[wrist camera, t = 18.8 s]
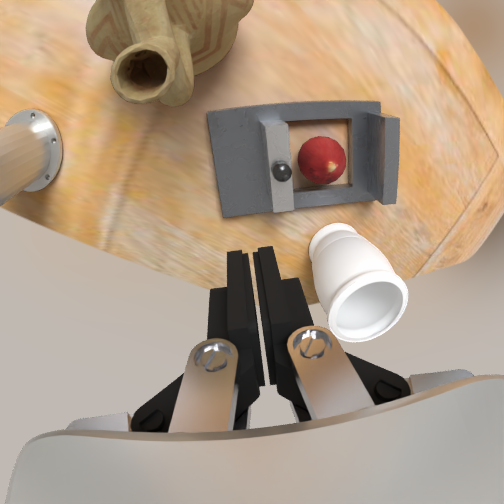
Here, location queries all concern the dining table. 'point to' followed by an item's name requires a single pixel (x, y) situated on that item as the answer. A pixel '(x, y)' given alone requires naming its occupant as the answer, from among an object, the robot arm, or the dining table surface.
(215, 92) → the dining table surface
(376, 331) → the jar
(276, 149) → the door
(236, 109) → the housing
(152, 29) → the ceramic vessel
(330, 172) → the onion
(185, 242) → the dining table surface
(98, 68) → the dining table surface
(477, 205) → the dining table surface
